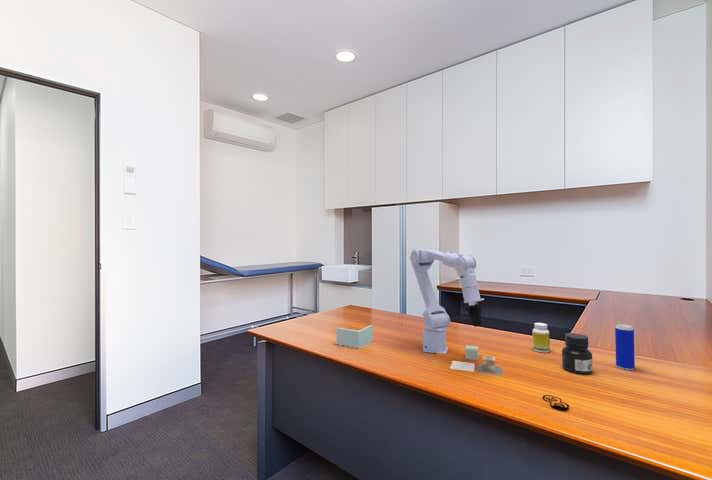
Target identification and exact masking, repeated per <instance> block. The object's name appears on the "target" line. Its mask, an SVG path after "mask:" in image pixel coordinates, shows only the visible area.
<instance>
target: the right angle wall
mask: <svg viewBox="0 0 712 480" xmlns="http://www.w3.org/2000/svg"><path fill="white" fill-rule="evenodd" d="M335 331H336V345H337V344H339V345H338V346H341V345H344V346H343V347H346V346H349V347H348V348H351V347H354V348H353V349H356V348H358V349H357V350H360V349H362V348H364V347H365V346H367V345H369V344H371V343H373V342H374V339H373V338H374V337H373V336H374V335H373V333H374V332H373V324H371V325H369V326H365V327H364V328H361V329H359V330H357V329H356V330H355V329H349V328H342V327H336V329H335ZM372 341H373V342H372ZM363 346H364V347H363ZM361 347H362V348H361ZM359 348H360V349H359Z"/></svg>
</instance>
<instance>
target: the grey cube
mask: <svg viewBox="0 0 712 480" xmlns="http://www.w3.org/2000/svg"><path fill="white" fill-rule="evenodd" d="M482 364H483V371H489V372H496V370H495V366H496V356H491V355H490V356H489V355H482Z"/></svg>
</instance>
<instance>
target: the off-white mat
mask: <svg viewBox="0 0 712 480" xmlns="http://www.w3.org/2000/svg"><path fill="white" fill-rule="evenodd" d="M475 365H476V364H475V363H473V362H465V361H458V360H452V361H451V365H450V366H449V368H450V369H451V370H458V371H464V372H473V373H474V372H475Z"/></svg>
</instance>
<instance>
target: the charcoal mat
mask: <svg viewBox="0 0 712 480" xmlns="http://www.w3.org/2000/svg"><path fill="white" fill-rule="evenodd" d="M495 370H496V372H489V371H483V363H477V368H476V373H480V374H487V375H488V374H489V375H496V376H503V372H502V370H503V369H502V366H497V365H495Z"/></svg>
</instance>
